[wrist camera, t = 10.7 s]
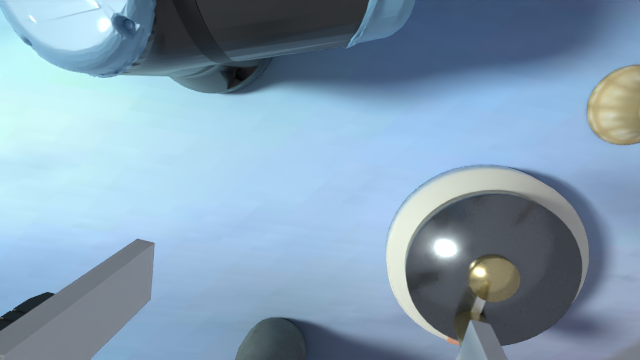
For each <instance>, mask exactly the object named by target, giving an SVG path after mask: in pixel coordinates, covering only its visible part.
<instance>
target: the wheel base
mask: <svg viewBox="0 0 640 360" xmlns="http://www.w3.org/2000/svg"><path fill="white" fill-rule="evenodd" d="M482 190H500V191H508V192H513V193H517V194H520V195H523V196H526V197H529V198H531V199H533V200H535V201H537V202H538V203H540V204H541V205H543V206H544V207H546V208H547V209H548V210H550V211H551V212H553V213H554V214H555V215H557V216H558V217H559V218H560V219H561V220H562V221H563V222H564V223H565V224H566V225H567V227H568V228H569V229H570V230H571V232H572V234H573V236H574V237H575V239H576V241H577V244H578V246H579V249H580V253H581V258H582V278H581V283H580V286H579V290H578V292H577V295H576V297H575V299H576V298H577V296H578V294H579V292H580V290H581V288H582V286H583V283H584V281H585V278H586V275H587V270H588V265H589V245H588V239H587V235H586V232H585V228H584V226H583V224H582V222H581V219H580V217H579V216H578V214H577V213H576V211H575V210H574V208H573V207H572V206H571V205H570V203H569V202H568V201H567V200H566V199H565V198H564V197H563V196H562V195H560V194H559V193H558V192H557V191H555V190H554V189H553V188H551V187H549V186H548V185H546V184H544V183H543V182H541V181H539V180H538V179H536V178H534V177H532V176H531V175H528V174H526V173H524V172H521V171H519V170H516V169H512V168H508V167H504V166H497V165H472V166H465V167H460V168H456V169H452V170H450V171H447V172H444V173H441V174H439V175H437V176H435V177H433V178H431V179H430V180H428V181H427V182H425V183H424V184H422V185H421V186H419V187H418V188H417V189H416V190H415V191H414V192H412V193H411V194H410V195H409V197H408V198H407V199H406V200H405V201H404V202H403V203H402V205H401V206H400V208H399V209H398V211H397V212H396V214H395V216H394V218H393V220H392V222H391V225H390V228H389V231H388V236H387V241H386V260H387V270H388V277H389V281H390V285H391V288H392V290H393V293H394V295H395V297H396V299H397V300H398V302H399V304H400V305H401V307H402V308H403V309H404V311H405V312H406V313H407V314H408V315H409V316H410V317H411V318H412V319H413V320H414V321H415V322H416V323H417V324H419V325H420V326H421V327H423V328H424V329H426V330H427V331H429V332H431V333H433V334H434V335H437V336H439V337H441V338H444V339H446V340H447V342H448V343H452V344H456V345H459V342H458V341H457V340H454V339H452V338H450V337H448V336H446V335H444V334H442V333H440V332H439V331H437V330H436V329H434V328H433V327H432V326H431V325H430V324H429V323H427V322H426V321H425V319H424V318H423V317H422V316H421V315H420V313H419V312H418V311H417V309H416V308H415V306H414V304H413V302H412V300H411V297H410V294H409V291H408V287H407V282H406V276H405V255H406V250H407V247H408V243H409V241H410V239H411V236H412V234H413V233H414V231H415V230H416V228H417V226H418V225H419V224H420V223H421V221H422V220H423V219H424V218H425V217H426V216H427V215H428V214H429V213H430V212H431V211H433V210H434V209H435V208H437V207H438V206H439V205H441V204H443V203H445V202H446V201H448V200H450V199H452V198H455V197H457V196H460V195H463V194H467V193H470V192H476V191H482ZM575 299H574V300H575ZM573 302H574V301H573Z"/></svg>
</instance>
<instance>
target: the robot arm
mask: <svg viewBox="0 0 640 360" xmlns="http://www.w3.org/2000/svg"><path fill="white" fill-rule="evenodd" d="M415 2H416V0H0V8H1V10H2V12H3V14H4V15H5V17H6V19H7V21H8V22H9V24H10V25H11V27H12V28H13V30H14V31H15V32H16V33H17V35H18V36H19V37H20V38H21V39H22V40H23V41H24V43H26V44H27V45H29V46H31V47H32V48H33V49H34V50H35V51H36V52H37V54H38V55H39V56H40V57H42V58H43V59H45V60H46V61H48V62H50V63H52V64H54V65H56V66H58V67H60V68H63V69H66V70H70V71H74V72H80V73H87V74H89V75H91V76H98V77H101V78H106V77H113V76H117V75H140V76H169V77H170V78H172V79H173V80H174V81H176V82H177V83H179V84H181V85H182V86H184V87H187V88H189V89H192V90H195V91H198V92H203V93H227V92H232V91H236V90H239V89H241V88H243V87H245V86H247V85H249V84H250V83H252V82H253V81H254V80H256V79H257V78H258V77H259V76H260V75H261V74H262V73H263V71H264V70H265V69H266V67H267V66H268V64H269V63H270V61H271V59H272V57H274V56H281V55H288V54H295V53H302V52H309V51H316V50H324V49H331V48H338V47H342V48H344V49H346V48H349V47H353V46H354V45H355V44H357V43H362V42H367V41H372V40H377V39H382V38H387V37H389V36H391V35H392V34H394V33H396V32H397V31H398V30H399V29H401V28H402V27H403V26H404V25H405V23H406V22H407V20H408V19H409V17H410V15H411V13H412V10H413V7H414V5H415ZM154 245H155V243H153V242H149V241H145V240H141V239H136V240H135V241H133V242H132V243H130V244H129V245H127V246H126V247H124V248H123V249H122V250H120V251H119V252H117V253H116V254H114V255H113V256H111V257H110V258H108V259H107V260H105V261H104V262H102V263H101V264H99V265H98V266H96V267H95V268H93V269H92V270H90V271H89V272H87V273H86V274H84V275H83V276H81V277H80V278H79V279H77V280H76V281H74V282H73V283H71V284H70V285H68V286H67V287H65V288H64V289H62V290H61V291H59V292H58V293H56V294H53V293H50V292H46V293H43V294H41V295H38V296H35V297H33V298H30V299H28V300H26V301H25V302H23V303H22V304H20V305H18V306H17V307H15V308H14V309H13V310H12V311H9V312H7V313H6V314H4V315H3V316H1V317H0V360H90V359H91V358H92V357H93V356H94V355H95V354H96V353H97V352H98V351H99V350H100V349H101V348H102V347H103V346H104V345H105V344H106V343H107V342H108V341H109V340H110V339H111V338H112V337H113V336H114V335H115V334H116V333H117V332H118V331H119V330H120V329H121V328H122V327H123V326H124V325H125V324H126V323H127V322H128V321H129V320H130V319H131V318H132V317H133V316H134V315H135V314H136V313H137V312H138V311H139V310H140V309H141V308H142V307H143V306H144V305H145V304H146V303H147V302H148V301H149V300H150V299H151V286H152V273H153V259H154ZM456 360H508V359H507V357H506V355H505V353H504V351H503V349H502V347H501V345H500V343H499V341H498V339H497V337H496V335H495V333H494V331H493V329H492V327H491V325H490V324H487V323H483V322H479V321H475V320H471V319H470V322H469V325H468V328H467V331H466V333H465V336H464V339H463V342H462V345H461V347H460V350H459V353H458V356H457V359H456Z"/></svg>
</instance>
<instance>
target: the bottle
mask: <svg viewBox="0 0 640 360" xmlns="http://www.w3.org/2000/svg"><path fill="white" fill-rule="evenodd" d="M235 360H306V348H305V340H304V337H303V335H302V333H301V331H300V330H299V329H298V328H297V327H296V325H294V324H293V323H291V322H290V321H288V320H285V319H282V318H268V319H265V320H262V321H261V322H259V323H258V324H257V325H256V326H254V327H253V328H252V329H251V330H250V332H249V333H248V335H247V336H246V338H245V339H244V341H243V342H242V344H241V345H240V347H239V349H238V352H237V355H236V358H235Z"/></svg>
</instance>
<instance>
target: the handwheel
mask: <svg viewBox="0 0 640 360" xmlns="http://www.w3.org/2000/svg"><path fill="white" fill-rule="evenodd" d="M405 276H406V282H407V287H408V291H409V294H410V297H411V300H412V302H413V304H414V306H415V308H416V309H417V311H418V312H419V313H420V315H421V316H422V317H423V318H424V319H425V321H426V322H427V323H429V324H430V325H431V326H432V327H433V328H434V329H436V330H437V331H439V332H440V333H442V334H444V335H446V336H448V337H450V338H452V339H454V340H457V341H458V342H459V345H460V347H461V345H462V342H463V339H464V336H465V333H466V331H467V328H468V325H469V322H470V319H471V320H475V321H479V322H483V323H487V324H490V325H491V327H492V329H493V331H494V333H495V335H496V337H497V339H498V341H499V343H500V345H501V346H505V345H510V344H515V343H518V342H522V341H525V340H528V339H530V338H532V337H535V336H537V335H538V334H540V333H542V332H544V331H545V330H547V329H548V328H550V327H551V326H552V325H554V324H555V323H556V322H557V321H558V320H559V319H560V318H561V317H562V316H563V315H564V314H565V313H566V311H567V310H568V309H569V307H570V306H571V304H572V303H573V301H574V299H575V297H576V295H577V292H578V290H579V286H580V283H581V278H582V258H581V253H580V249H579V246H578V244H577V241H576V239H575V237H574V236H573V234H572V232H571V230H570V229H569V228H568V227H567V225H566V224H565V223H564V222H563V221H562V220H561V219H560V218H559V217H558V216H557V215H555V214H554V213H553V212H551V211H550V210H548V209H547V208H546V207H544V206H543V205H541V204H540V203H538V202H537V201H535V200H533V199H531V198H529V197H526V196H523V195H520V194H517V193H513V192H508V191H500V190H482V191H476V192H470V193H467V194H463V195H460V196H457V197H455V198H452V199H450V200H448V201H446V202H445V203H443V204H441V205H439V206H438V207H437V208H435V209H434V210H433V211H431V212H430V213H429V214H428V215H427V216H426V217H425V218H424V219H423V220H422V221H421V223H420V224H419V225H418V226H417V228H416V230H415V231H414V233H413V234H412V236H411V239H410V241H409V243H408V247H407V250H406V255H405Z"/></svg>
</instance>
